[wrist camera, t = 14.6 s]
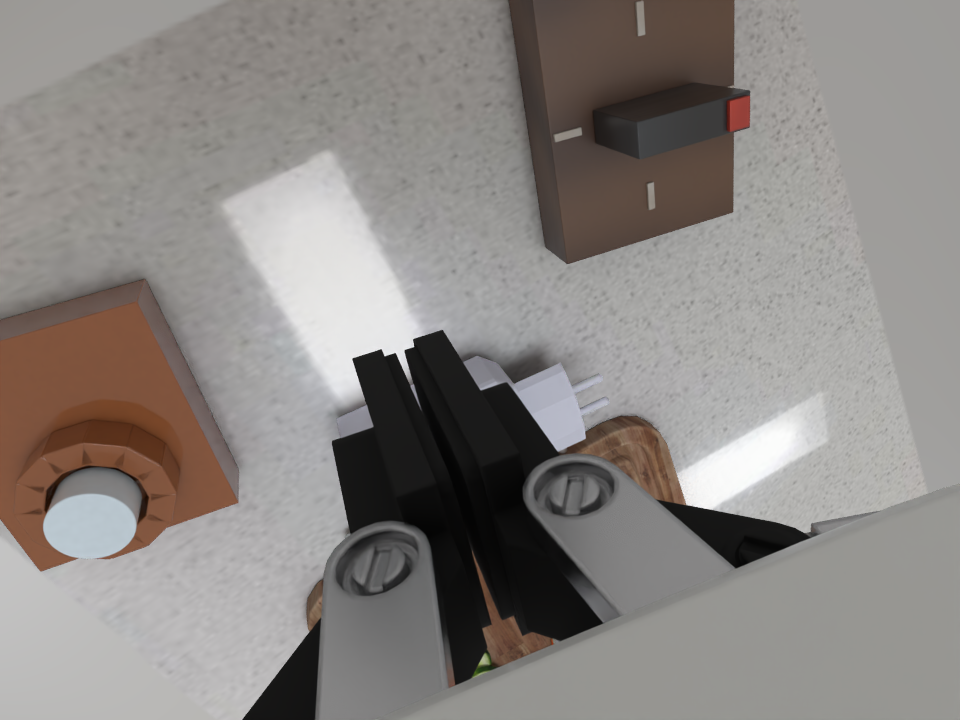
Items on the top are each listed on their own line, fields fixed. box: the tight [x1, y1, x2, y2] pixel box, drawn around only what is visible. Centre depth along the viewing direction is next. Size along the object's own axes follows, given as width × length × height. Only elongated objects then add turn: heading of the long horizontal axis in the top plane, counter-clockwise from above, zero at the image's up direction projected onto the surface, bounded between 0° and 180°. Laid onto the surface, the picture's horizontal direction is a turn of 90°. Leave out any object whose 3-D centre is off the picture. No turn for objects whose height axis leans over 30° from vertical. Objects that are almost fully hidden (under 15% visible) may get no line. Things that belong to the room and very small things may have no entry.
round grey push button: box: [43, 467, 142, 559], centre depth 30 cm, size 4×4×2 cm
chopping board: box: [306, 416, 686, 678], centre depth 53 cm, size 45×27×3 cm, turn 23°
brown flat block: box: [509, 0, 734, 264], centre depth 33 cm, size 13×10×3 cm
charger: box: [337, 356, 609, 452], centre depth 39 cm, size 5×9×15 cm
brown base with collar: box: [0, 279, 239, 571], centre depth 32 cm, size 12×10×5 cm
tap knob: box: [593, 82, 750, 160], centre depth 30 cm, size 6×2×4 cm, turn 101°
